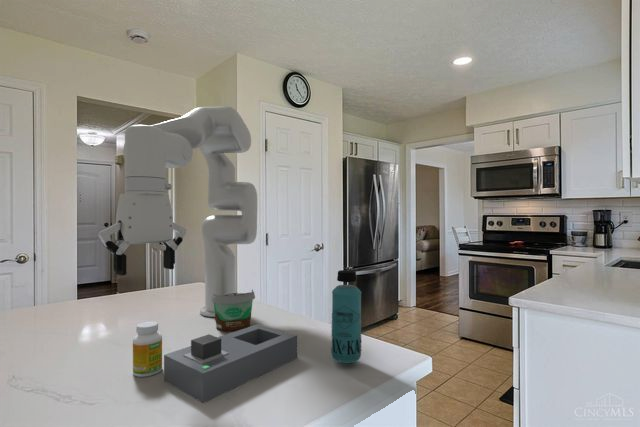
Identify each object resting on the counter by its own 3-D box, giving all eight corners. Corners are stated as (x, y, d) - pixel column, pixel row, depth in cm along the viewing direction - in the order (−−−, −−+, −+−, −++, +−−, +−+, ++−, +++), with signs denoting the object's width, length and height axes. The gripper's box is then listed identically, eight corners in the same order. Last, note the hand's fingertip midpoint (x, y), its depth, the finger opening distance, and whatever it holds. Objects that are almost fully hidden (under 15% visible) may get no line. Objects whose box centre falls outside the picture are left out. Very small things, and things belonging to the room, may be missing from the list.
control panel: (258, 344, 88) (257, 311, 88) (297, 357, 80) (297, 321, 80) (164, 380, 69) (163, 339, 69) (203, 402, 61) (203, 355, 61)
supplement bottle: (150, 378, 70) (150, 329, 70) (126, 376, 71) (126, 327, 71) (167, 367, 75) (167, 320, 75) (145, 365, 76) (144, 319, 76)
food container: (215, 336, 94) (215, 298, 94) (211, 329, 99) (210, 293, 99) (260, 329, 99) (260, 293, 99) (254, 323, 105) (254, 289, 105)
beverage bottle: (329, 358, 79) (329, 268, 79) (359, 357, 80) (358, 267, 80) (333, 371, 73) (332, 273, 73) (365, 369, 73) (364, 272, 73)
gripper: (175, 190, 82) (176, 265, 82) (91, 186, 69) (91, 275, 68) (194, 189, 77) (194, 268, 77) (107, 184, 64) (107, 279, 64)
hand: (146, 271), depth 73 cm, fingers open, 9 cm apart
